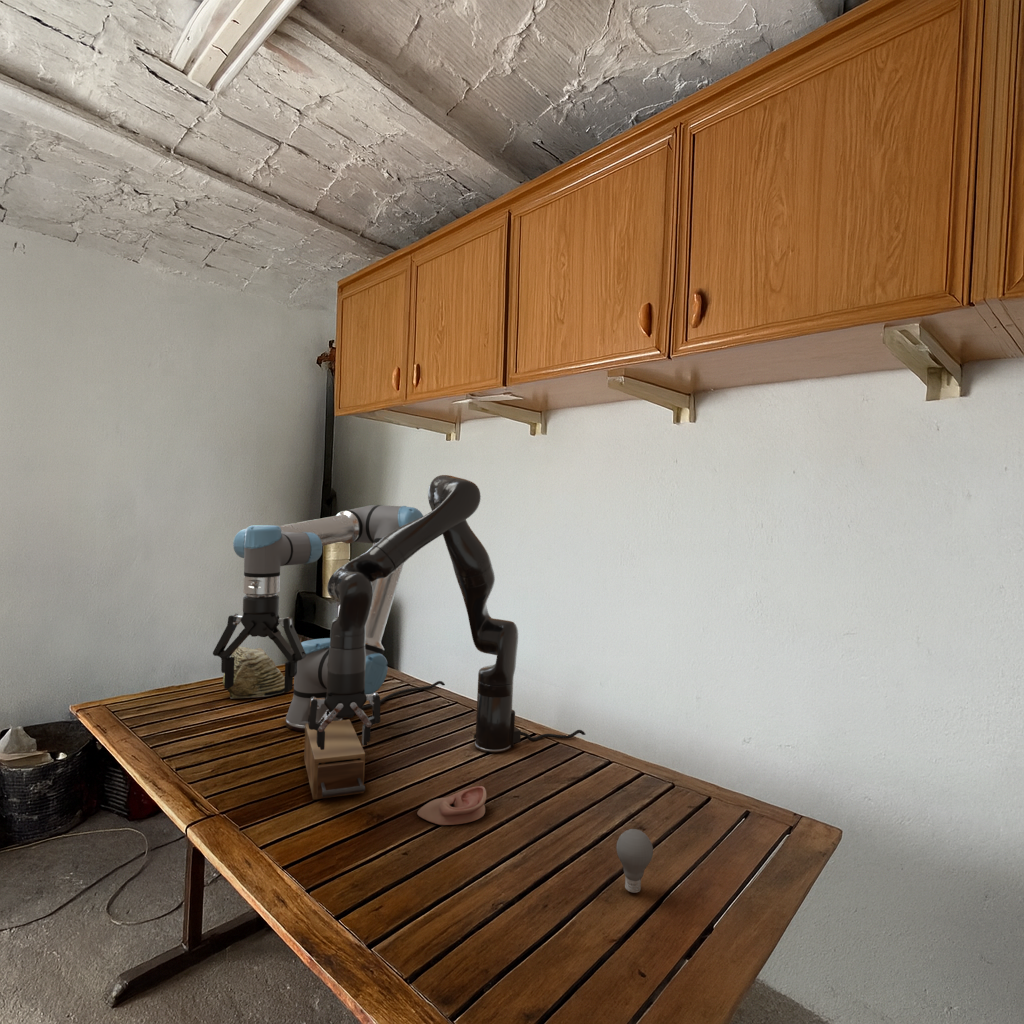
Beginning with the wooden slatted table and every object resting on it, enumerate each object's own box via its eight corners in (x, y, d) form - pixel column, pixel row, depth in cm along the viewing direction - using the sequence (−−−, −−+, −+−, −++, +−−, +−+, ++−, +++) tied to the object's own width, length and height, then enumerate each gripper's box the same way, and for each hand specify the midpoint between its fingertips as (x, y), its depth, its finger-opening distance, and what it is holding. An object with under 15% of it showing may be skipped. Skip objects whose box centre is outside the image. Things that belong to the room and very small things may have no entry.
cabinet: (363, 792, 136) (365, 753, 136) (312, 799, 132) (314, 759, 132) (348, 753, 156) (349, 719, 156) (304, 758, 152) (305, 723, 152)
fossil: (218, 695, 195) (220, 647, 195) (278, 685, 208) (279, 640, 207) (228, 703, 189) (230, 653, 188) (289, 692, 201) (290, 645, 201)
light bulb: (610, 879, 108) (613, 822, 108) (644, 879, 109) (647, 822, 109) (619, 902, 102) (622, 840, 102) (655, 901, 103) (658, 840, 103)
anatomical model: (412, 801, 125) (431, 776, 136) (411, 820, 125) (430, 795, 136) (477, 810, 122) (491, 784, 134) (476, 830, 122) (490, 803, 134)
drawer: (366, 804, 130) (368, 771, 129) (319, 810, 126) (321, 777, 126) (347, 755, 153) (349, 728, 153) (308, 759, 150) (309, 731, 150)
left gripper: (197, 594, 138) (195, 690, 139) (310, 599, 137) (307, 697, 137) (215, 589, 146) (213, 680, 146) (322, 594, 144) (319, 686, 145)
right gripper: (312, 674, 123) (308, 757, 124) (385, 670, 129) (381, 749, 129) (308, 664, 130) (305, 743, 131) (378, 661, 136) (375, 736, 136)
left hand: (258, 689), depth 142 cm, fingers open, 13 cm apart
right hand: (343, 746), depth 130 cm, fingers open, 8 cm apart
